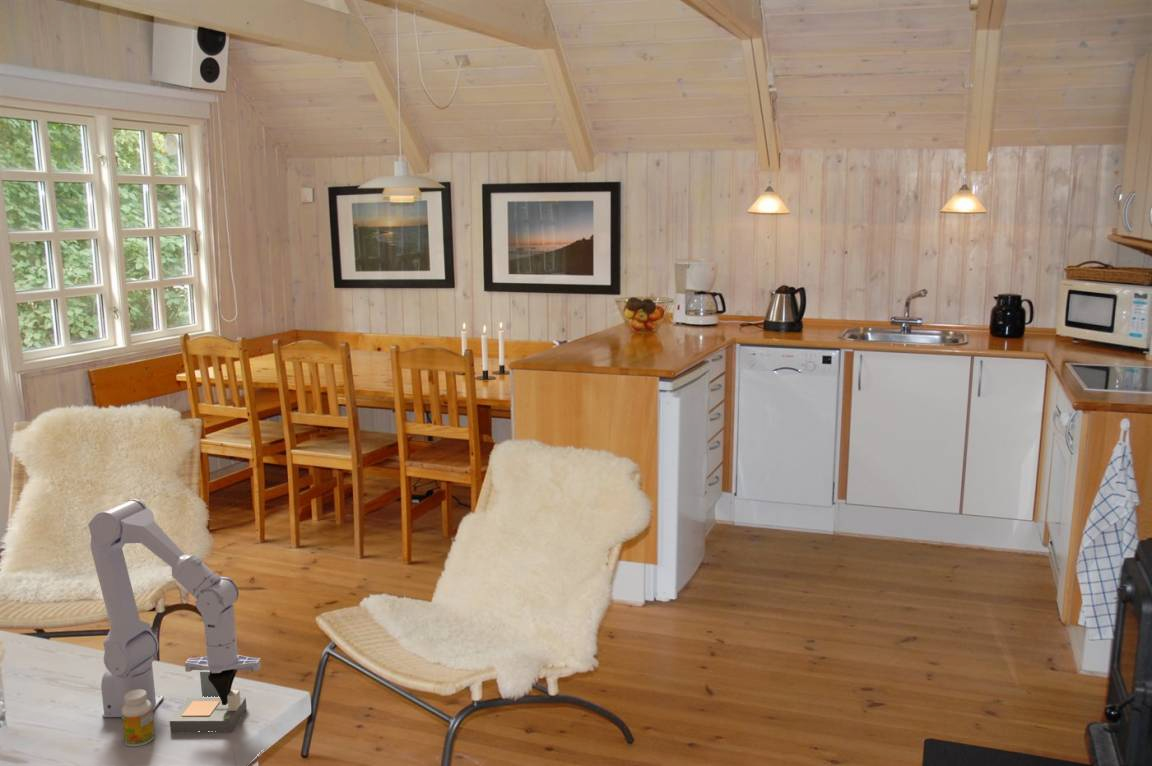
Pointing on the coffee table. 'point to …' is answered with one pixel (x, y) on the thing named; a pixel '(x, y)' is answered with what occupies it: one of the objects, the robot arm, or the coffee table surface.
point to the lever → (233, 700)
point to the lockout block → (207, 685)
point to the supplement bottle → (137, 718)
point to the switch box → (206, 716)
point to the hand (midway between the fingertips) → (226, 702)
